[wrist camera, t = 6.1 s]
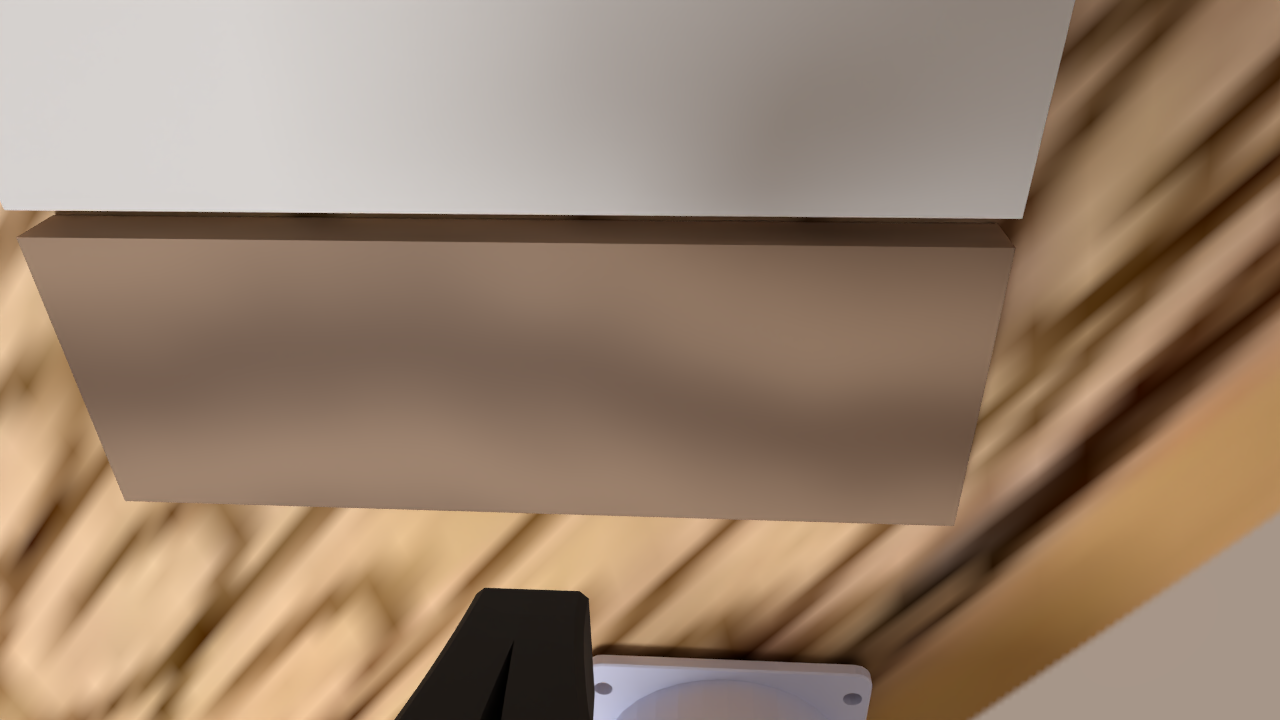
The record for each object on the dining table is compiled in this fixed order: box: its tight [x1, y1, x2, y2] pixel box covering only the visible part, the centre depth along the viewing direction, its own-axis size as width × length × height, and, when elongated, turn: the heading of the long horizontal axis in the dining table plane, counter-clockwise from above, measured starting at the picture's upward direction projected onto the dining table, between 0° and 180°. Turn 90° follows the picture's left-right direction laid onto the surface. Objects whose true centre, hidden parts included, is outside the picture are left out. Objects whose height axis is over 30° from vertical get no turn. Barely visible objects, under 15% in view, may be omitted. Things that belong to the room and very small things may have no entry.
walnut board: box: [16, 215, 1015, 526], centre depth 20 cm, size 7×20×1 cm, turn 91°
